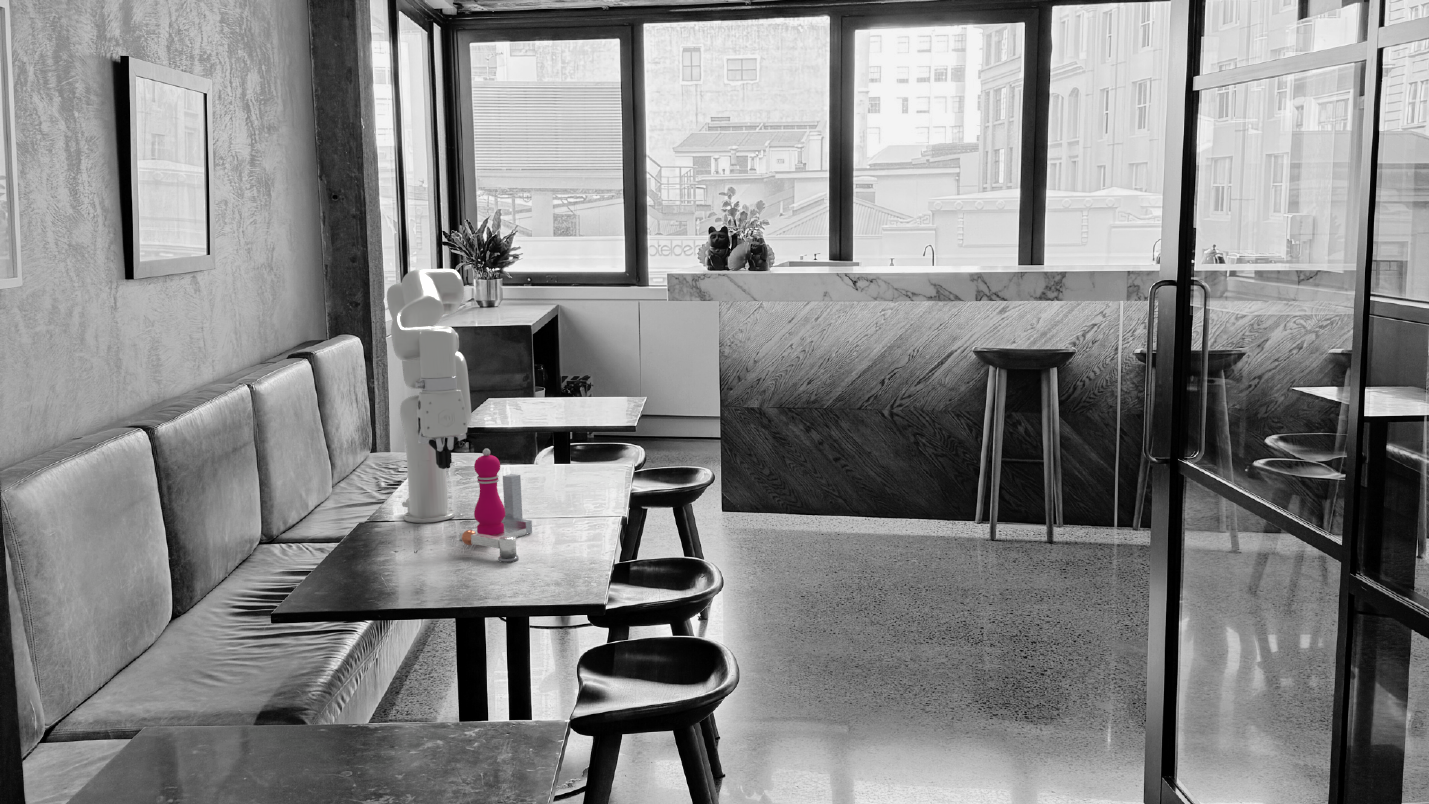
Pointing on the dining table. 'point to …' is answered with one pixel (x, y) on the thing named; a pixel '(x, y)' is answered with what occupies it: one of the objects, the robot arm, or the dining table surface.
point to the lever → (492, 542)
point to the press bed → (512, 512)
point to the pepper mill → (488, 496)
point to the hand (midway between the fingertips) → (444, 467)
